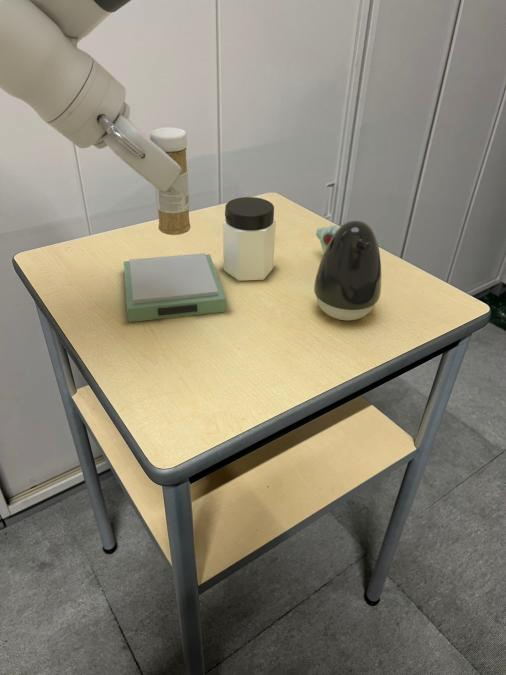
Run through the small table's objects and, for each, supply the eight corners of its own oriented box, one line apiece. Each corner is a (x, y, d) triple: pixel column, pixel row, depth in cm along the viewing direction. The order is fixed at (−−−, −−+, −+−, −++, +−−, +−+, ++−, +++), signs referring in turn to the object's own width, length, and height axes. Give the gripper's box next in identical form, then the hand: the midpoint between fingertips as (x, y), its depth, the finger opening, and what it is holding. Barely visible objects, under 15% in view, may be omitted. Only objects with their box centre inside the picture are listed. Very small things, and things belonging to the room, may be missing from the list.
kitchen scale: (128, 323, 78) (126, 305, 76) (125, 274, 90) (122, 257, 88) (226, 312, 81) (226, 295, 79) (210, 266, 93) (209, 249, 91)
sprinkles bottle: (167, 220, 76) (160, 124, 68) (196, 225, 74) (192, 128, 66) (152, 233, 72) (143, 133, 64) (182, 239, 71) (176, 138, 63)
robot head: (355, 261, 96) (360, 227, 92) (345, 270, 93) (350, 235, 89) (317, 249, 100) (321, 216, 96) (306, 257, 97) (310, 223, 93)
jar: (237, 254, 97) (238, 192, 90) (278, 263, 95) (282, 200, 88) (216, 276, 90) (215, 211, 83) (259, 286, 88) (262, 220, 81)
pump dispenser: (321, 332, 78) (333, 240, 69) (304, 296, 86) (313, 209, 77) (386, 327, 79) (406, 236, 70) (363, 292, 87) (378, 206, 78)
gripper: (131, 105, 52) (221, 187, 61) (86, 69, 66) (165, 139, 76) (93, 156, 53) (188, 228, 62) (57, 109, 67) (139, 173, 77)
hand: (175, 179), depth 69 cm, fingers closed on sprinkles bottle, 4 cm apart
